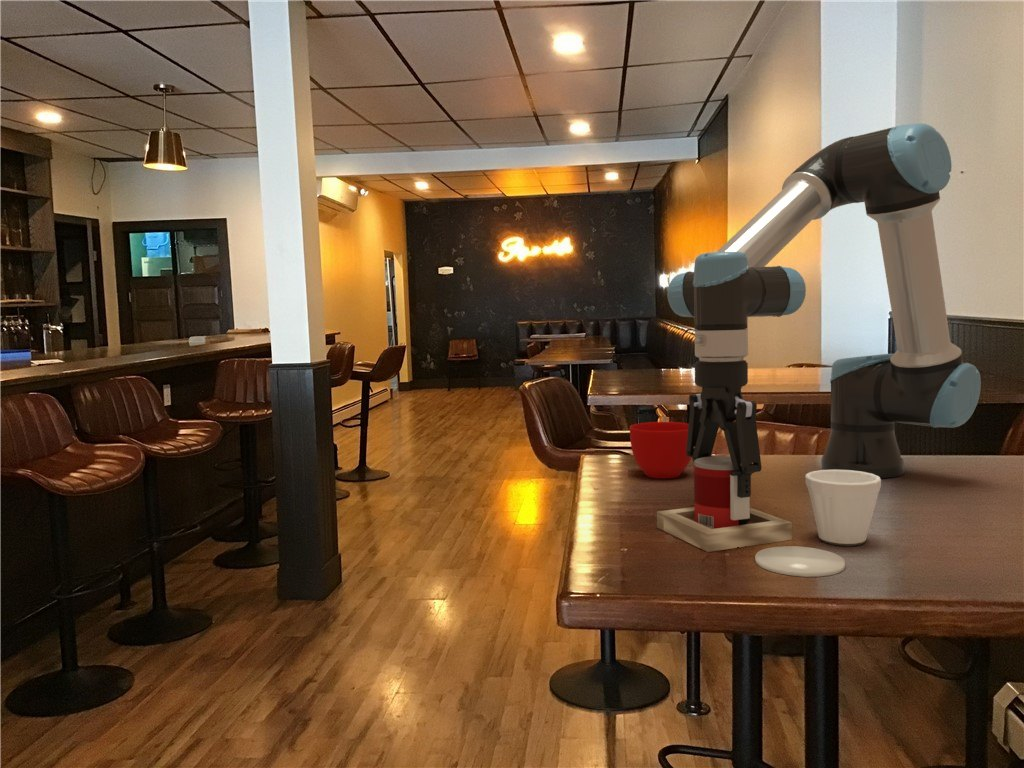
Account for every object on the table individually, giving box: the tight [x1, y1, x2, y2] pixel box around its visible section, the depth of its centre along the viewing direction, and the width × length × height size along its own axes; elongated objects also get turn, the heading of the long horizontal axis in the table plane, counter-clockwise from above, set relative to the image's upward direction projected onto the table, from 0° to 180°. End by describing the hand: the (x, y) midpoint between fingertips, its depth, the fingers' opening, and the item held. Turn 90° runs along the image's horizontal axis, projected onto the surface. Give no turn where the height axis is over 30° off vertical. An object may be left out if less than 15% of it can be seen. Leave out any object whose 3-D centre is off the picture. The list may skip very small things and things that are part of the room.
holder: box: [656, 506, 793, 553], centre depth 120 cm, size 14×14×2 cm
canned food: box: [693, 455, 750, 529], centre depth 120 cm, size 8×8×11 cm
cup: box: [804, 469, 882, 547], centre depth 114 cm, size 10×10×9 cm
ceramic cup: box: [629, 421, 695, 480], centre depth 164 cm, size 13×17×10 cm
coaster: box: [754, 545, 846, 578], centre depth 105 cm, size 11×11×1 cm
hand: (721, 511), depth 120 cm, fingers open, 8 cm apart
